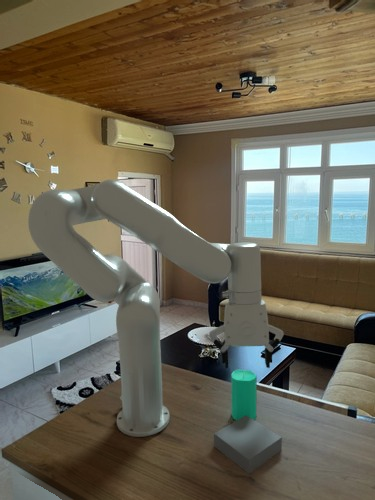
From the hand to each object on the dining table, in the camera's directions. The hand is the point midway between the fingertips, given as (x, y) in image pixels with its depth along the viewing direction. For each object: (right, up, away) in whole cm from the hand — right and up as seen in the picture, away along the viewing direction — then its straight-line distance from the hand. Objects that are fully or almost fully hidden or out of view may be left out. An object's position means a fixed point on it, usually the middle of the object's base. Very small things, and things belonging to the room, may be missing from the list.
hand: (246, 365), depth 86 cm
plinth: (-1, -15, -10) cm, 17 cm away
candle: (0, -13, +2) cm, 13 cm away
